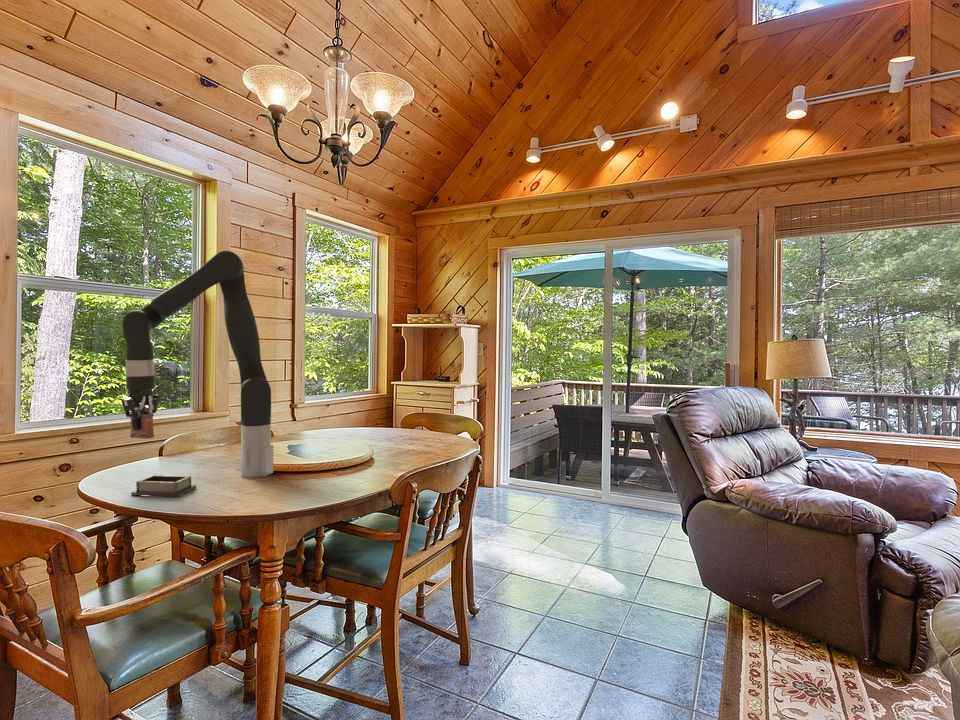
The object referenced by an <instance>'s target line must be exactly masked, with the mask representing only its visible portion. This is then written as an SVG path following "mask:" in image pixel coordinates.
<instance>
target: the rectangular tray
mask: <svg viewBox="0 0 960 720" xmlns="http://www.w3.org/2000/svg"><path fill="white" fill-rule="evenodd" d="M135 485H136V490H135V491H134V490H133V491H131V492H130V495H131V494H132V495H150V496H164V497H163V498H174V497H177V498H179V497H181V496H180V495H182V494H184V495H186V494H188V493H189V491H190V492H192V491H194V490H196V489H197V484H196V485H194V484H192V476H189V475H187V476H186V475H162V474H161V475H159V474H158V475H157V474H155V475H154V474H153V475H150V476H148V477H145V478H143V479H140V480H137V481H136V484H135ZM193 489H194V490H193ZM191 490H192V491H191ZM187 492H188V493H187ZM185 493H186V494H185ZM178 496H179V497H178ZM182 496H183V495H182Z"/></svg>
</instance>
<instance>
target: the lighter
mask: <svg viewBox="0 0 960 720" xmlns="http://www.w3.org/2000/svg"><path fill="white" fill-rule="evenodd" d="M135 408H139V407H135ZM135 412H136V414H137V411H135ZM154 414H155V413H153V414H152V413H149V407H146V406H144V408H143V411H141V417H140V418H141V430H133V427H132V418H131V417H130V438H132V439H143V440H144V439H147V440H148V439H153V438H155V434H154Z"/></svg>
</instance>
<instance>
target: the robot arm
mask: <svg viewBox="0 0 960 720" xmlns="http://www.w3.org/2000/svg"><path fill="white" fill-rule="evenodd" d="M244 269H245V268H244V263H243V260H242V259H241V258H240V256H238V254H237V253H235V252H233V251H230V250H221V251H219V252H217V253H215V254H214V255H213V256H212V257H211V258H210V259H209V260H208V261H207V262H206V263H205V264H203V265H202V266H201V267H200V268H198V269H197V270H196V271H195V272H193V273H192V274H191V275H189V276H188V277H186V278H185V279H182V280H181V281H180V282H177V284H175V285H173V286H171V287H170V288H168V289H166V290H165V291H163V292H161V293H160V294H158V295H157V296H155V297H154V298H152V300H151V301H150V303H148V304H147V305H146V306H144V307H142V308H141V309H139V310H137V309H135V310H129V311H128V312H127V313H125V314H124V315H123V318H122V333H123V336H124V341H125V345H126V349H125V350H126V353H125V354H126V362H125V363H126V364H125V382H126V383H125V384H126V386H125V387H126V390H128V391H129V394H128V397H127V398H122V399H121V404H122V407H123V410H124V413H125V416H126V417H127V418H130V419H131V418H132V427H133V430H141V418H140V417H141V411H143V408H144V406H146V407H149V413H152V414H156V413H157V410H158V406H159V402H160V401H159V400H160V395H159V394H154V392H153V390H154V389H155V388H156V379H155V378H156V375H155V374H156V373H155V368H156V367H155V364H154V363H155V362H154V347H153V344H152V342H151V339H150V331H152V330H153V329H155V328H156V327H158V326H159V325H160V324H162V323H163V322H164V321H165V320H166V319H167V318H169V317H171V316H172V315H174V314H176V313H177V312H179V311H181V310H182V309H184V308H186V307H187V306H188V305H189V304H190V303H192V302H193V301H194V300H195V299H197V298H198V297H199V296H200V295H202V294H203V293H204V292H206V291H207V290H208V289H210V288H211V287H214V286H215V285H217V284H219V286H220V289H221V293H222V298H223V314H224V323H225V329H226V333H227V336H228V341H229V343H230V347H231V350H232V352H233V354H234V355H233V356H234V357H235V359H236V363H237V365H238V371H239V376H240V377H239V379H240V428H241V429H240V437H241V438H240V443H241V444H240V446H241V448H240V453H241V454H240V456H241V458H240V462H241V464H240V465H241V466H240V467H241V469H240V471H241V472H240V473H241V476H242V477H243V478H253V479H255V478H266V477H267V476H269V475H271V474H273V473H274V445H273V444H271V443H272V442H271V439H272V435H271V431H272V422H271V421H272V387H271V386H270V383H269V381H268V379H267V375H266V373H265V369H264V367H263V364H262V359H261V345H260V344H261V343H260V338H259V337H260V336H259V331H258V330H259V329H258V326H257V322H256V318H255V314H254V312H253V311H254V310H253V308H252V305H251V302H250V299H249V296H248V293H247V289H246V288H247V287H246V282H245V281H246V280H245V270H244ZM135 407H139V408H135ZM136 411H137V414H136Z"/></svg>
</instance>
